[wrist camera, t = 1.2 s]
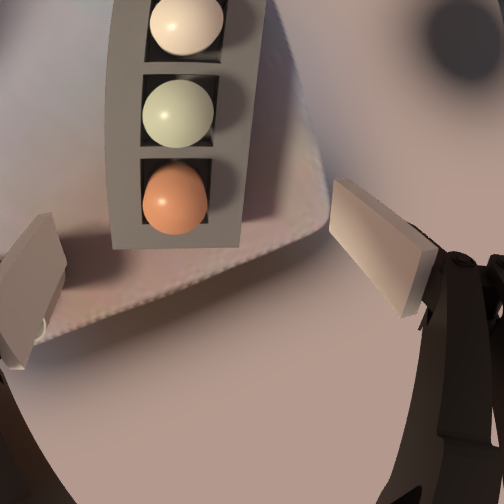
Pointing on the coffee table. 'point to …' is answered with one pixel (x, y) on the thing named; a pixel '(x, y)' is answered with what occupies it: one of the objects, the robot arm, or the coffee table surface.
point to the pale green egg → (178, 113)
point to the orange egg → (175, 198)
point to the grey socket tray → (198, 154)
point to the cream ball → (186, 25)
